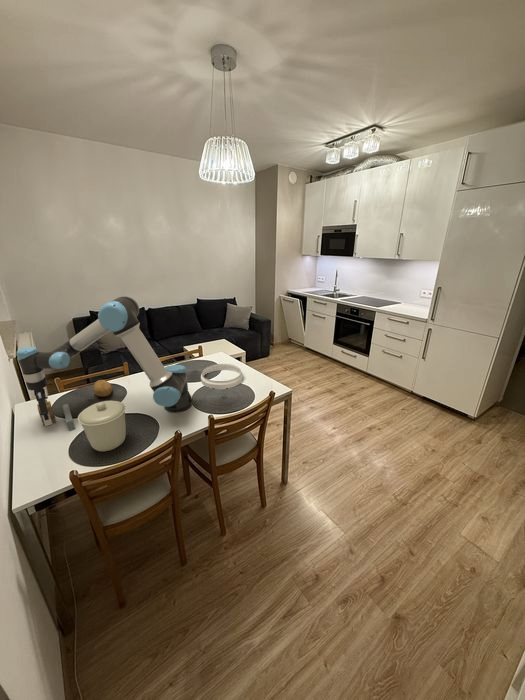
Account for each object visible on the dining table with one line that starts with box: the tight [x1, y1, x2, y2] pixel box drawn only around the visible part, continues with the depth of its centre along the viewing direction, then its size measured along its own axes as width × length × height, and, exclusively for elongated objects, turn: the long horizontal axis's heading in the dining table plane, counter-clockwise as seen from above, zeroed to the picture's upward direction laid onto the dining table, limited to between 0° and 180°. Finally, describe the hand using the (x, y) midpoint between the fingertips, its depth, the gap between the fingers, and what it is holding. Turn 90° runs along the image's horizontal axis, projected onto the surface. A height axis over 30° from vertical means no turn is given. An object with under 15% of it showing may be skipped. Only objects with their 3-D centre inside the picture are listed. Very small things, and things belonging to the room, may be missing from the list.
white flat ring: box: [200, 363, 243, 390], centre depth 183 cm, size 27×27×6 cm
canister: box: [77, 400, 127, 452], centre depth 122 cm, size 18×18×21 cm
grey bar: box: [62, 403, 76, 432], centre depth 139 cm, size 18×2×5 cm, turn 39°
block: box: [36, 400, 57, 427], centre depth 137 cm, size 5×5×10 cm
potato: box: [93, 379, 113, 397], centre depth 162 cm, size 10×14×8 cm
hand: (47, 417), depth 138 cm, fingers open, 13 cm apart
